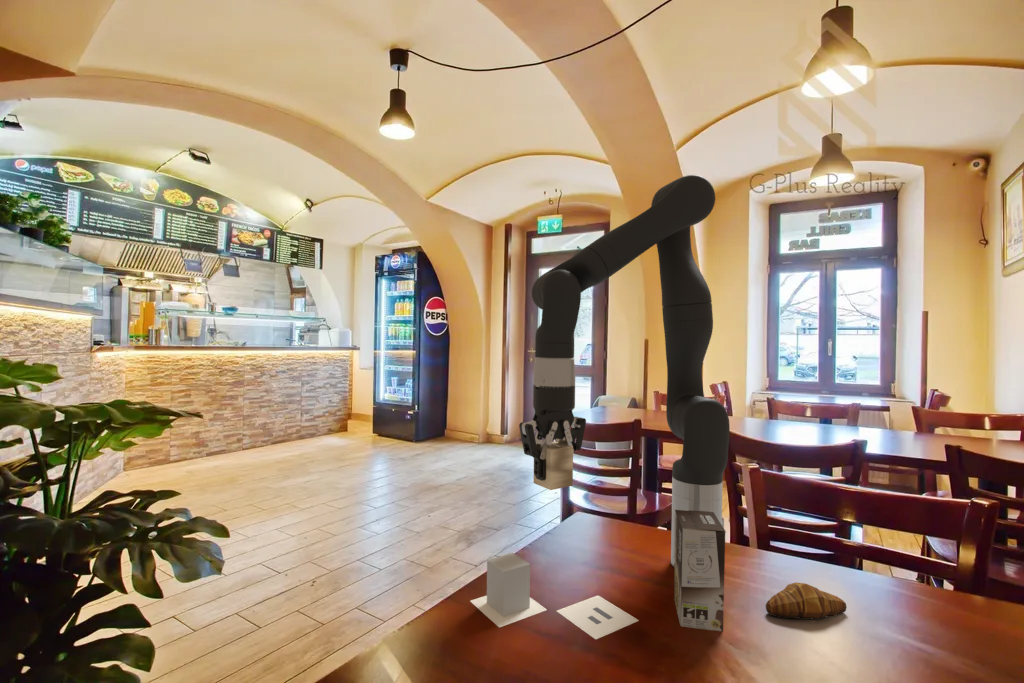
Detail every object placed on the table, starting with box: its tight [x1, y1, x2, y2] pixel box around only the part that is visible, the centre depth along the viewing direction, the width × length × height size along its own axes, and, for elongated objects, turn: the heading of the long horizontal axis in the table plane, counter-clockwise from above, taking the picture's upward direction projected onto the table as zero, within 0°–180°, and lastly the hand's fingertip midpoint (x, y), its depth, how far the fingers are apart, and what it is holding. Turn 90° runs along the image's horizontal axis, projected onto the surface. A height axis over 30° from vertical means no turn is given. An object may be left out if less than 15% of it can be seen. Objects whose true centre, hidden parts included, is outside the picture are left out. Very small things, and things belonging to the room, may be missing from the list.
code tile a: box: [556, 594, 640, 640], centre depth 79 cm, size 9×9×1 cm
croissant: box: [765, 582, 847, 621], centre depth 83 cm, size 14×7×5 cm, turn 96°
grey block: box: [486, 552, 531, 617], centre depth 82 cm, size 5×5×7 cm
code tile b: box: [469, 594, 548, 628], centre depth 82 cm, size 9×9×1 cm
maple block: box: [533, 441, 574, 491], centre depth 91 cm, size 5×5×7 cm
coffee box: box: [673, 510, 727, 632], centre depth 80 cm, size 9×6×16 cm
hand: (552, 476), depth 91 cm, fingers closed on maple block, 5 cm apart
